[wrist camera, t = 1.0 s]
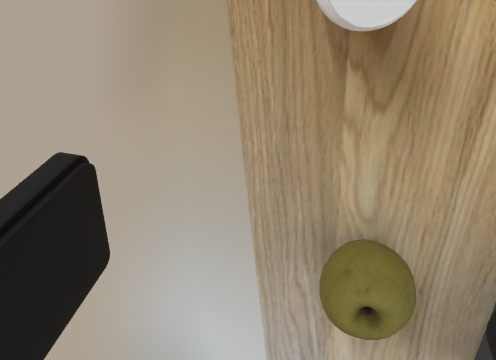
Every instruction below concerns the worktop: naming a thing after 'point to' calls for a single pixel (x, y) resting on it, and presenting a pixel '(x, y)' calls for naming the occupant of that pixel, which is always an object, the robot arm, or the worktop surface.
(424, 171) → the worktop surface
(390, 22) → the pill bottle
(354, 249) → the apple
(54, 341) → the robot arm
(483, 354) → the holder
